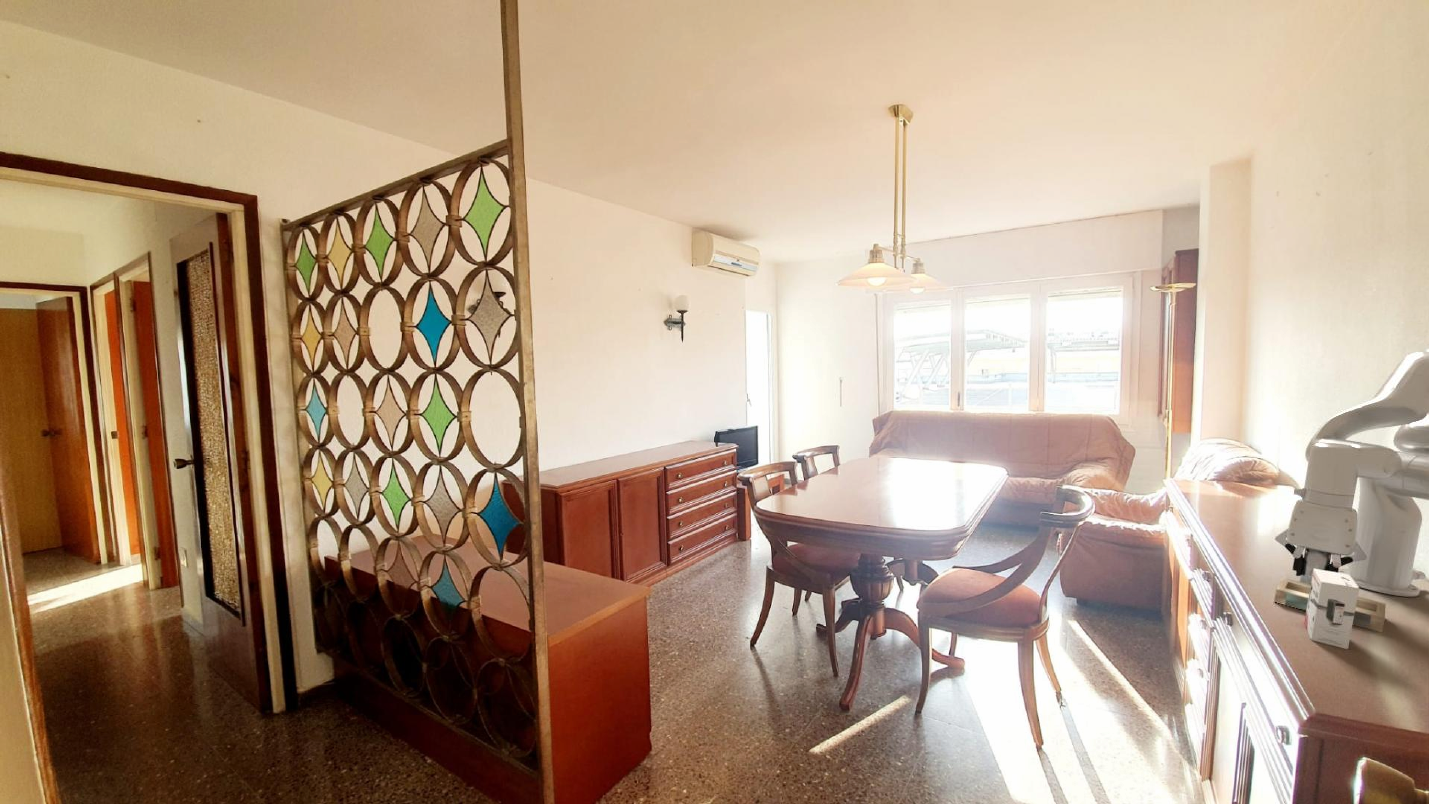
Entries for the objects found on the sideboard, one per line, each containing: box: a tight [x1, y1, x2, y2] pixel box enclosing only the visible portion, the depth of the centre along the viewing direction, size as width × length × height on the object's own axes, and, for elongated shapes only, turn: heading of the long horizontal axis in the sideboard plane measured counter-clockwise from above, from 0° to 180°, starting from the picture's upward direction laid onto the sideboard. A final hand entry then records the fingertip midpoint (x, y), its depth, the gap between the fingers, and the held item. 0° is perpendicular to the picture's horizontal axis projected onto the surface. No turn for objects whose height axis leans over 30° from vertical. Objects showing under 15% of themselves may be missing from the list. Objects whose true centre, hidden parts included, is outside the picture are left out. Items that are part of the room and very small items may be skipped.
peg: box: [1299, 548, 1332, 584], centre depth 126 cm, size 4×4×11 cm
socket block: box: [1273, 577, 1387, 633], centre depth 117 cm, size 15×10×3 cm
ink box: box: [1303, 568, 1360, 650], centre depth 106 cm, size 9×5×12 cm, turn 141°
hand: (1313, 577), depth 126 cm, fingers closed on peg, 4 cm apart
